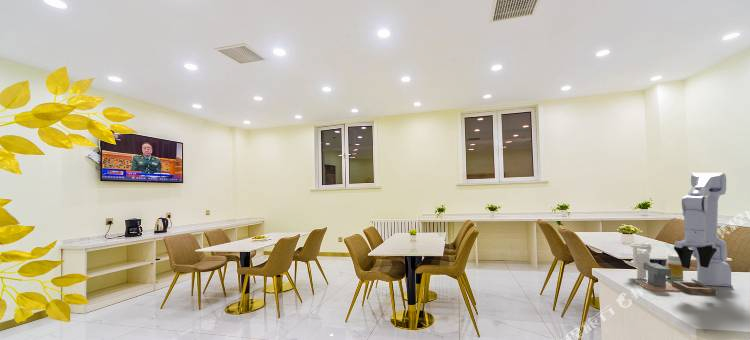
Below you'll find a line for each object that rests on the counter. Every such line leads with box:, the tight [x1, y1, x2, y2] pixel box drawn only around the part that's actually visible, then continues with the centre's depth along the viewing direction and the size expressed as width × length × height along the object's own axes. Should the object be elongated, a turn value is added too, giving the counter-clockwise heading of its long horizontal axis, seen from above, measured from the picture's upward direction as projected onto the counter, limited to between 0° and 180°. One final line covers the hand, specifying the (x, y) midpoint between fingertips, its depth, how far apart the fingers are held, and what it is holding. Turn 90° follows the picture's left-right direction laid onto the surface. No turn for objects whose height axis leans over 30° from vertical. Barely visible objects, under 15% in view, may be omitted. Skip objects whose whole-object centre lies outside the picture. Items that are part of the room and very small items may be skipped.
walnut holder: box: [671, 280, 717, 296], centre depth 132 cm, size 9×9×2 cm
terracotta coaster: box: [634, 280, 681, 293], centre depth 136 cm, size 10×10×1 cm
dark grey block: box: [644, 262, 671, 287], centre depth 136 cm, size 9×4×8 cm, turn 170°
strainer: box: [630, 242, 653, 280], centre depth 148 cm, size 7×7×15 cm
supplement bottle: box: [665, 254, 684, 281], centre depth 148 cm, size 5×5×10 cm
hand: (695, 267), depth 127 cm, fingers open, 7 cm apart
